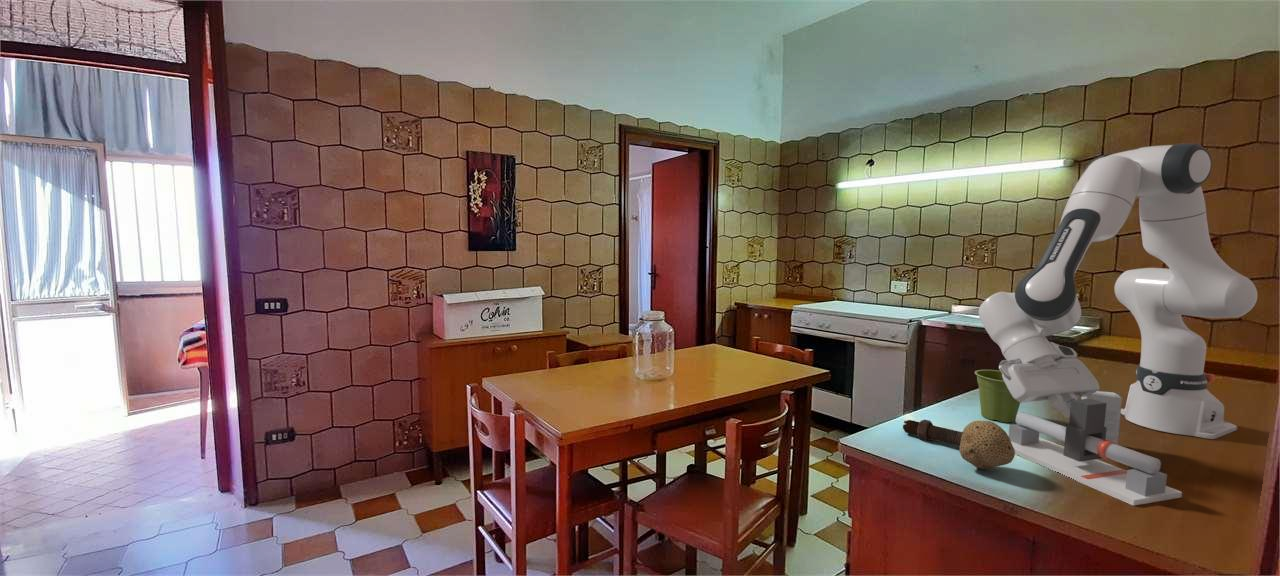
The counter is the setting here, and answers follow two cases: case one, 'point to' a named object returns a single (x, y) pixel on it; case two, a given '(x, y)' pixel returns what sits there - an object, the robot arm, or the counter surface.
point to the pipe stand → (1093, 462)
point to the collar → (1084, 428)
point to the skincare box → (1109, 412)
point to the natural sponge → (986, 445)
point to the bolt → (932, 432)
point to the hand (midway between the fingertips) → (1075, 416)
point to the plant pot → (996, 397)
